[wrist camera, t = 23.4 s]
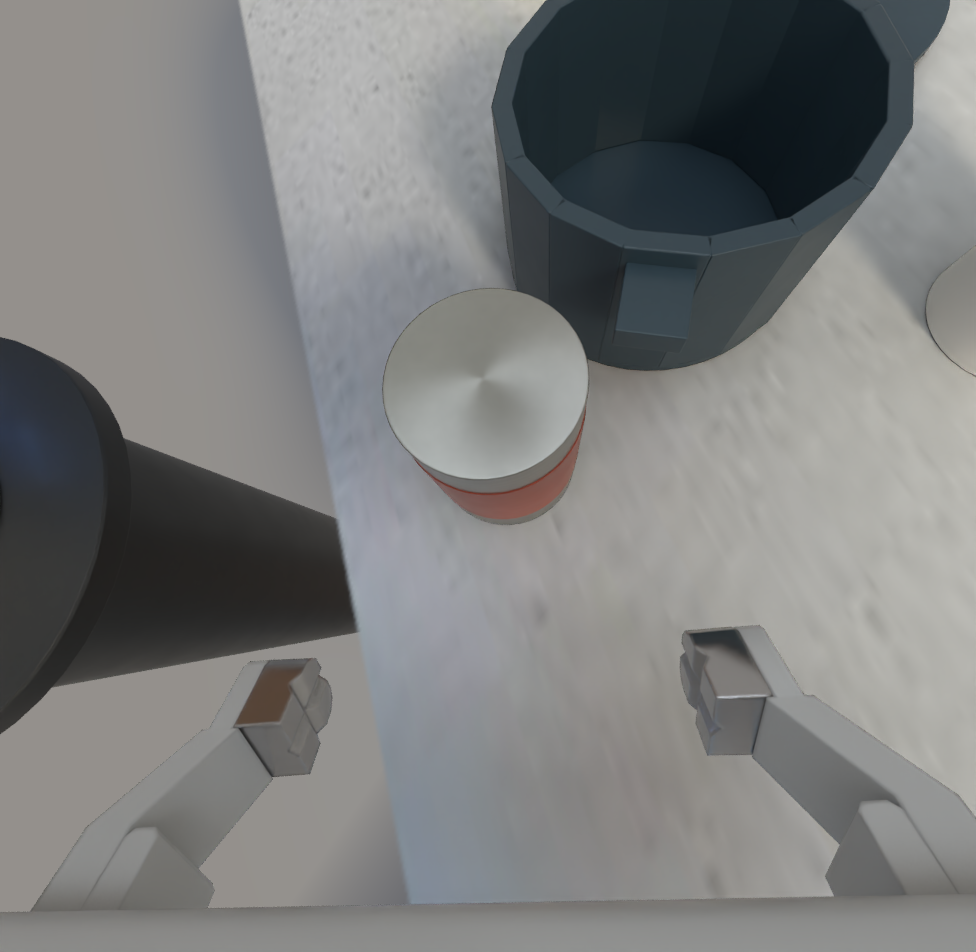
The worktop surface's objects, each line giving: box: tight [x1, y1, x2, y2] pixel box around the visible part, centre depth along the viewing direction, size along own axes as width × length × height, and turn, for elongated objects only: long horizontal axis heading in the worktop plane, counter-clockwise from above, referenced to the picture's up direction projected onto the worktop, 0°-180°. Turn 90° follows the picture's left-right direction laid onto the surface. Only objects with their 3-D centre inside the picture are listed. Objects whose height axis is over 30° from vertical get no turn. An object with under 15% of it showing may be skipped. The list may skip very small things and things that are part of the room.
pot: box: [491, 0, 914, 370], centre depth 22 cm, size 15×20×8 cm
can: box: [382, 288, 589, 525], centre depth 19 cm, size 7×7×9 cm
